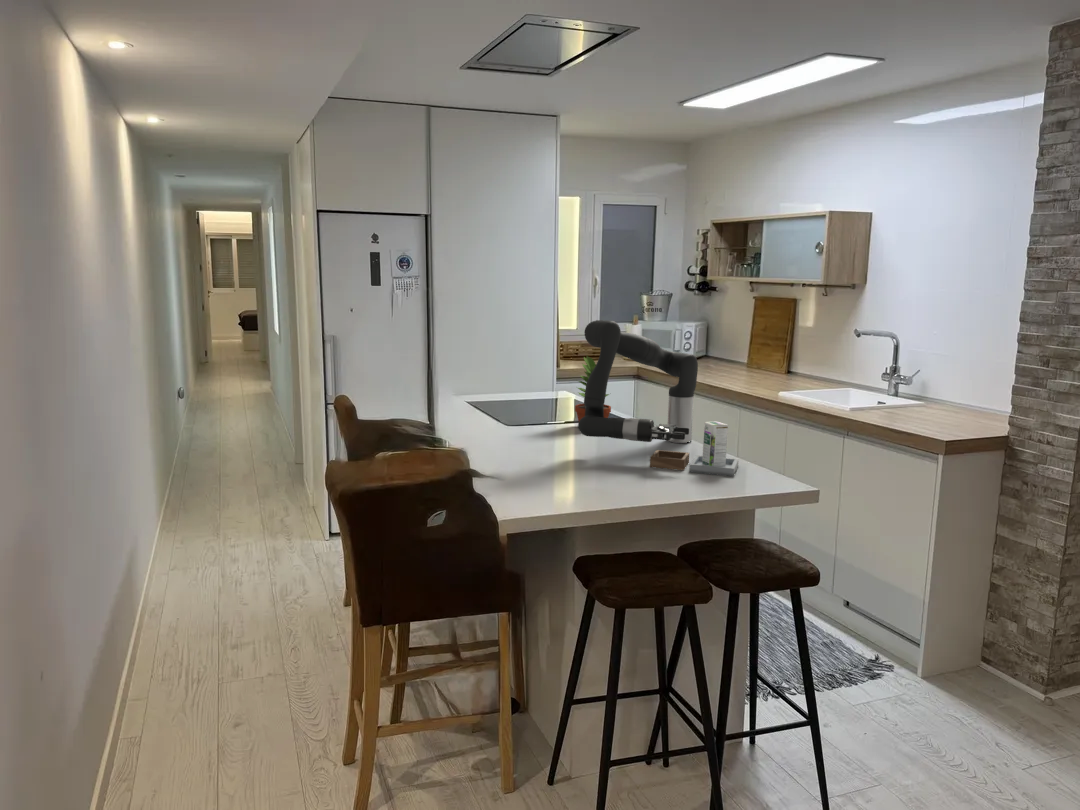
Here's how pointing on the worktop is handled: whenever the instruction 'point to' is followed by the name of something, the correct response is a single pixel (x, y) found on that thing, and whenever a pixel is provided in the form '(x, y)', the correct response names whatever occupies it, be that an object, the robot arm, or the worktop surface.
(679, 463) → the walnut holder
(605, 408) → the potted plant
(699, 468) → the slate tray
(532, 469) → the worktop surface
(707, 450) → the syrup box
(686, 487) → the worktop surface
